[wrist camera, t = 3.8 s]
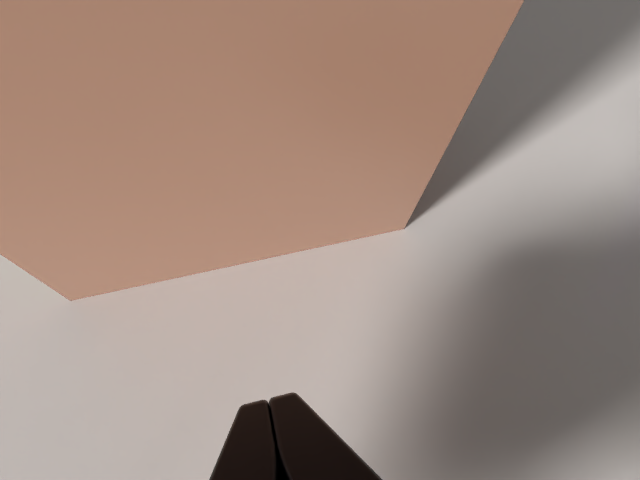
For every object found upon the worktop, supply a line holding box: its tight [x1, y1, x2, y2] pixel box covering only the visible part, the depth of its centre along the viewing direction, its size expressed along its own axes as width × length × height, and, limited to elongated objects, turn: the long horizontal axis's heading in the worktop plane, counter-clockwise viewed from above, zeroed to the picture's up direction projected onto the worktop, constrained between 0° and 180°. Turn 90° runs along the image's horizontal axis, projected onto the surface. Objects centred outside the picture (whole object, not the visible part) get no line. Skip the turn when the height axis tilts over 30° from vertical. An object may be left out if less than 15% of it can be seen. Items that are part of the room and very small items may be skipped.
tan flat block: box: [0, 0, 524, 301], centre depth 12 cm, size 4×10×12 cm, turn 104°
